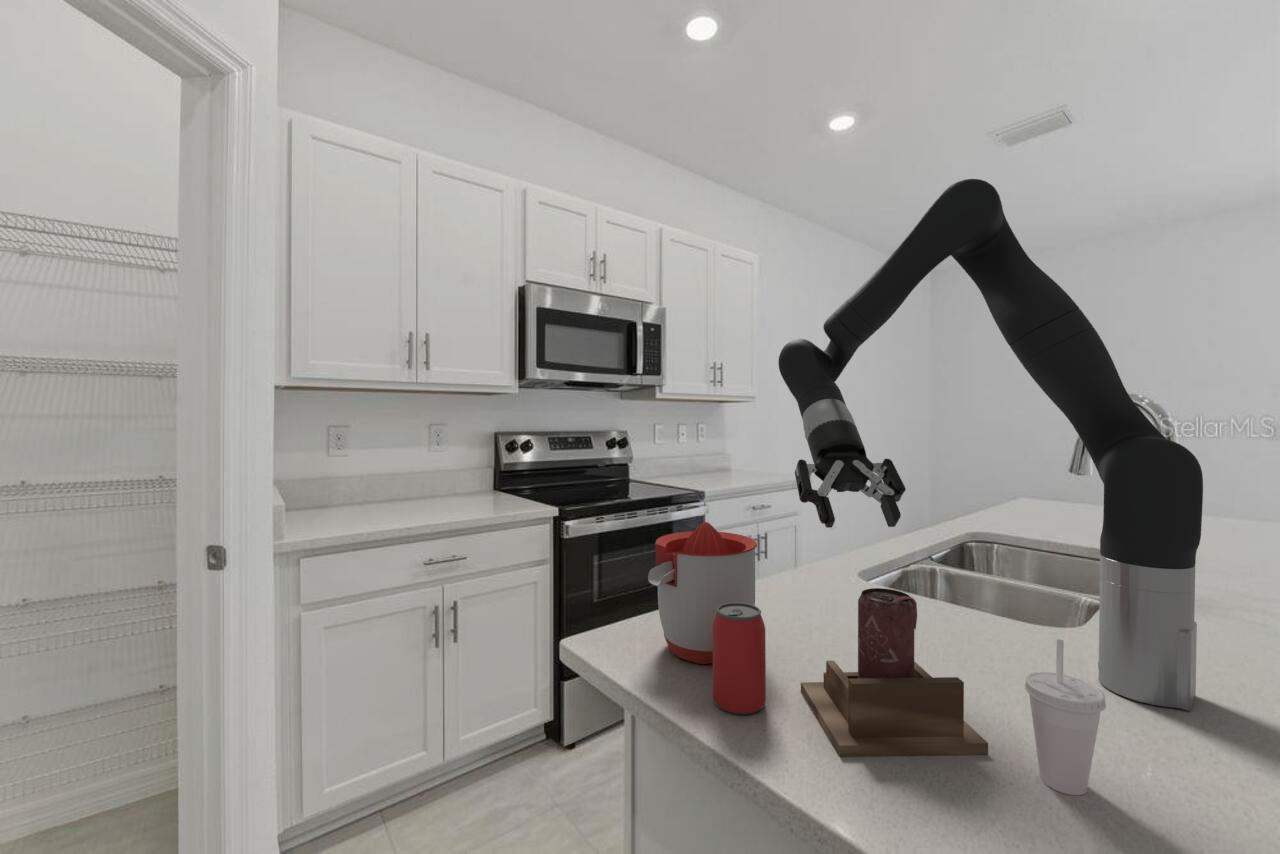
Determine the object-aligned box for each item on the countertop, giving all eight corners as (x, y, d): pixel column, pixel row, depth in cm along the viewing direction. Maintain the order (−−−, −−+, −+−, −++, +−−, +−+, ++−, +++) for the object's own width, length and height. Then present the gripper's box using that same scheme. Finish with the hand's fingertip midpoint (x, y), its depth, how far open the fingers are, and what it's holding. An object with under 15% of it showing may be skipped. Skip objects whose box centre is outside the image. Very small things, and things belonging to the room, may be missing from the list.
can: (923, 728, 63) (923, 604, 63) (863, 722, 65) (863, 601, 64) (908, 700, 69) (909, 588, 69) (854, 695, 71) (854, 585, 70)
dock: (800, 691, 74) (800, 637, 74) (921, 689, 74) (921, 635, 74) (839, 756, 60) (839, 690, 60) (988, 754, 60) (988, 687, 60)
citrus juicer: (629, 643, 90) (627, 519, 90) (718, 623, 98) (717, 509, 98) (679, 685, 76) (678, 538, 76) (779, 658, 84) (778, 525, 84)
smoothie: (1068, 761, 59) (1070, 629, 59) (1123, 804, 53) (1125, 656, 52) (1009, 763, 59) (1010, 630, 58) (1056, 806, 52) (1058, 657, 52)
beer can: (702, 703, 71) (701, 609, 71) (733, 685, 76) (732, 597, 76) (745, 723, 67) (745, 623, 66) (775, 703, 71) (775, 609, 71)
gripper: (790, 418, 84) (816, 508, 73) (885, 417, 84) (925, 507, 73) (781, 451, 89) (803, 540, 78) (870, 450, 89) (905, 538, 78)
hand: (862, 524), depth 75 cm, fingers open, 8 cm apart
